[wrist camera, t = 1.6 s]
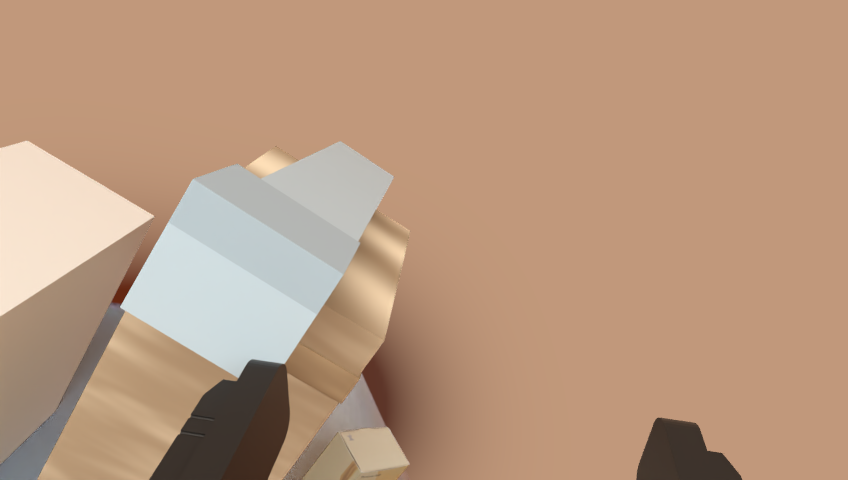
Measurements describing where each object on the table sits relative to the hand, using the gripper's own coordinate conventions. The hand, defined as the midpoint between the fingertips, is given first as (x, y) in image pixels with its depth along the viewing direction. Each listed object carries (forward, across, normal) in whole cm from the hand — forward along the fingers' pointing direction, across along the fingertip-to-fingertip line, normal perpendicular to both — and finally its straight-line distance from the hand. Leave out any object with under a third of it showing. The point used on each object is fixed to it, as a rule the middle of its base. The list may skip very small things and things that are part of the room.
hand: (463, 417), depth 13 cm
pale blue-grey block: (+12, -8, -4) cm, 15 cm away
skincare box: (+22, -13, -42) cm, 49 cm away
